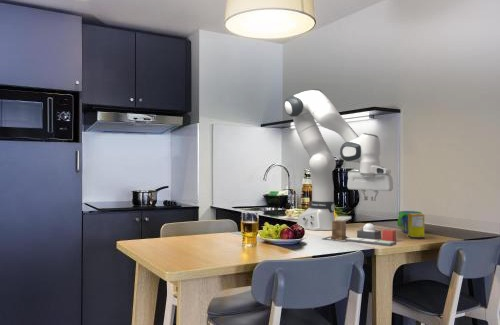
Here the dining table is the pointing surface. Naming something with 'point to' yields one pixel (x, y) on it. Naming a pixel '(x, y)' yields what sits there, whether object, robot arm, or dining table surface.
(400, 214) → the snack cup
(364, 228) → the dome button
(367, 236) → the dome housing
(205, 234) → the dining table surface
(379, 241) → the game track
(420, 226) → the supplement box
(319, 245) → the dining table surface
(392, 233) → the red die
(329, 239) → the pad
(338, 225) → the brown wooden block
